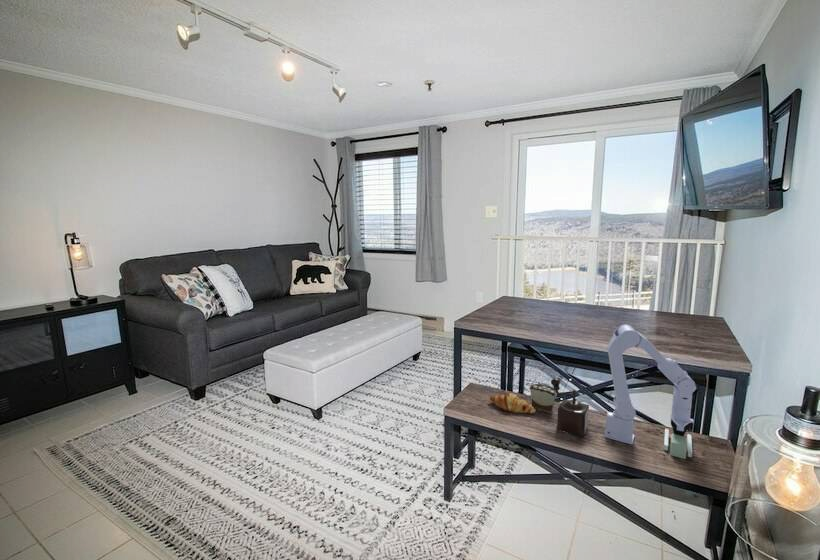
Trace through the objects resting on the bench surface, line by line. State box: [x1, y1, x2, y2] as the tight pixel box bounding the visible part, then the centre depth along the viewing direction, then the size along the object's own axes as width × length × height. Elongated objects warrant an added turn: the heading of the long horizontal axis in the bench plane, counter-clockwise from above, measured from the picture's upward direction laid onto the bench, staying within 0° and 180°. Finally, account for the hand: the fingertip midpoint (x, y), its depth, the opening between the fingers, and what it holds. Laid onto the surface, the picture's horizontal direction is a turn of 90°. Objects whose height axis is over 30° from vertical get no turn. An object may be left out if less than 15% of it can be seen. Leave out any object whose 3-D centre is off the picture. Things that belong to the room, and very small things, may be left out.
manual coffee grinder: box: [550, 378, 590, 438], centre depth 158 cm, size 16×11×18 cm
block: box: [669, 433, 687, 460], centre depth 140 cm, size 4×7×5 cm, turn 146°
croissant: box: [489, 392, 537, 414], centre depth 175 cm, size 21×10×8 cm, turn 58°
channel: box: [663, 428, 693, 458], centre depth 146 cm, size 8×14×2 cm, turn 146°
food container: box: [528, 383, 558, 414], centre depth 175 cm, size 12×6×10 cm, turn 48°
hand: (678, 440), depth 145 cm, fingers closed
